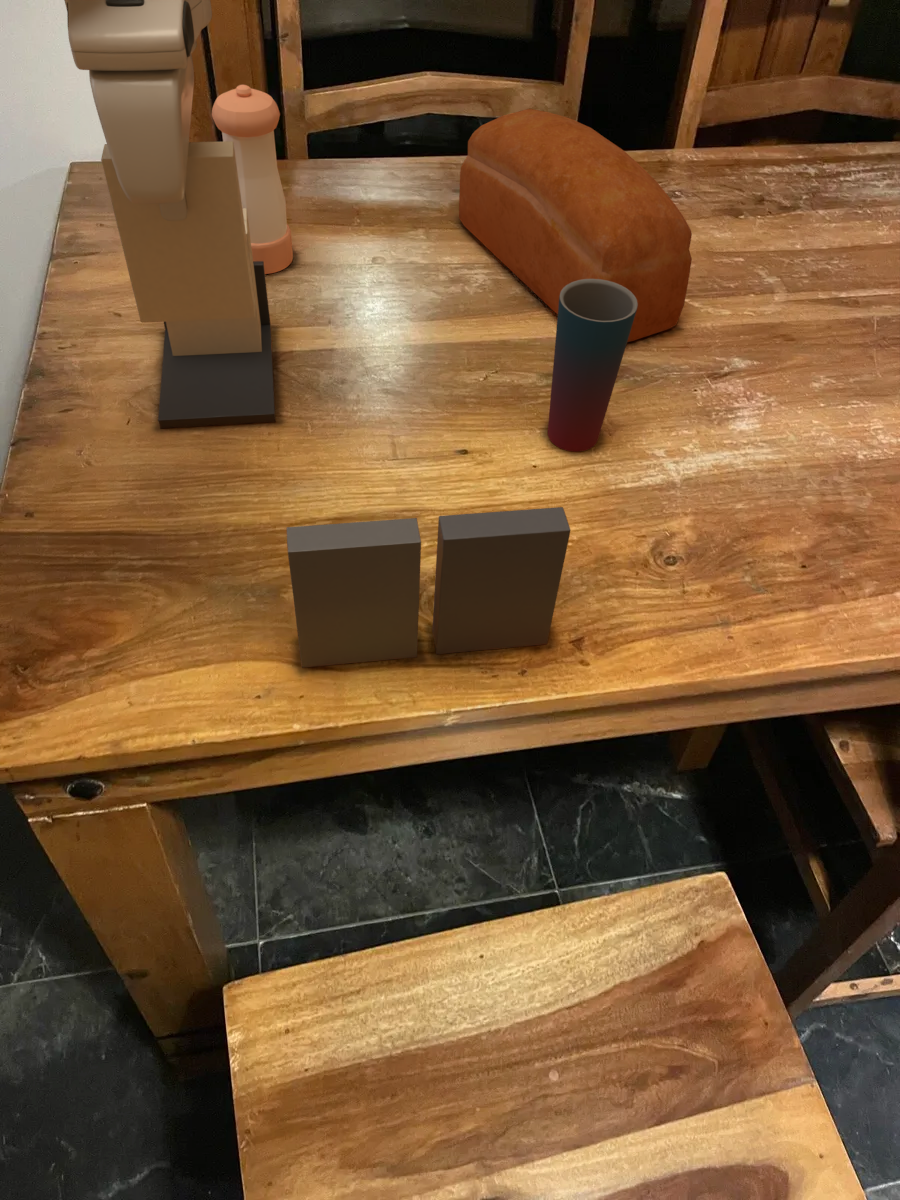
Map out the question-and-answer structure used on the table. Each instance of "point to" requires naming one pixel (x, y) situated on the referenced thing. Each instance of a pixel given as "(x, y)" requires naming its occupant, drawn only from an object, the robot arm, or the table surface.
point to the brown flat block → (188, 243)
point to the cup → (587, 359)
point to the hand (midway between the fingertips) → (177, 203)
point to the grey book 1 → (355, 590)
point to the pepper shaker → (257, 171)
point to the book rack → (220, 365)
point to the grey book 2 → (497, 578)
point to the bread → (575, 214)
